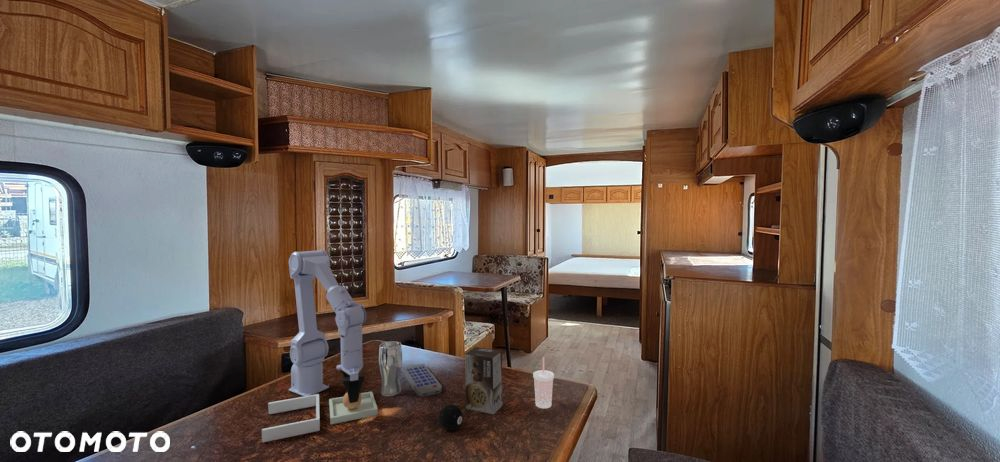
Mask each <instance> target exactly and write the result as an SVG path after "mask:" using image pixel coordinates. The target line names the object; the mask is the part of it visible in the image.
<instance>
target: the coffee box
mask: <svg viewBox="0 0 1000 462" xmlns="http://www.w3.org/2000/svg"><path fill="white" fill-rule="evenodd" d="M502 352H503V351H502V350H500V349H499V350H498V349H492V348H485V347H479V346H474V347H473V348H471V349H469V351H467V352H465V353H464V364H465V365H464V367H465V369H464V371H465V409H466V410H470V411H475V412H481V413H485V414H490V415H495V414H496V413H497V412H498V411H499V410H500V409H501V408H502V407H503V353H502Z"/></svg>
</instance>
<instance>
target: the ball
mask: <svg viewBox="0 0 1000 462" xmlns="http://www.w3.org/2000/svg"><path fill="white" fill-rule="evenodd" d="M342 397H343V404H344V406H345V407H346V408H348V409H354V408H356V407H358V406H359V405H360V403H361V400H362V396H361V394H359V399H358V402H354V403H350V402H349V398H348V393H347V392H345V394H344V395H343V396H342Z"/></svg>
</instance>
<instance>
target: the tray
mask: <svg viewBox="0 0 1000 462" xmlns="http://www.w3.org/2000/svg"><path fill="white" fill-rule="evenodd" d="M360 394H361V396H362V400H361V403H360V405H359V406H358V407H356V408H354V409H348V408H346V407H345V406H344V404H343V397H344V396H340V397H332V398H329V399H328V405H329V406H328V407H329V418H330V420H329V421H330V422H329V423H330V425H336V424H340V423H345V422H349V421H354V420H361V419H364V418H369V417H375V416H378V415H379V413H378V412H379V410H378V409H379V408H378V405H377V402H376V400H375V396H374V393H373V390H372V391H368V392H367V391H366V392H360Z"/></svg>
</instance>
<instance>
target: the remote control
mask: <svg viewBox="0 0 1000 462" xmlns="http://www.w3.org/2000/svg"><path fill="white" fill-rule="evenodd" d="M401 372H402V373H403V375H404V377H405V378H406V380H407V381H408V383H409V384H410V386H411V388H412V389H413V391H414V392H415V394H416V395H417V396H418V397H427V396H428V397H429V396H433V395H437V394H441V393H442V390H443V386H442V384H441V383H440V382H439V381H438V379H437V378H436V376H435V375H434V374H433V373H432V372H431V371H430V369H429V368H428V366H427V365H425V363H420V364H413V365H409V366H402V367H401Z"/></svg>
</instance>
